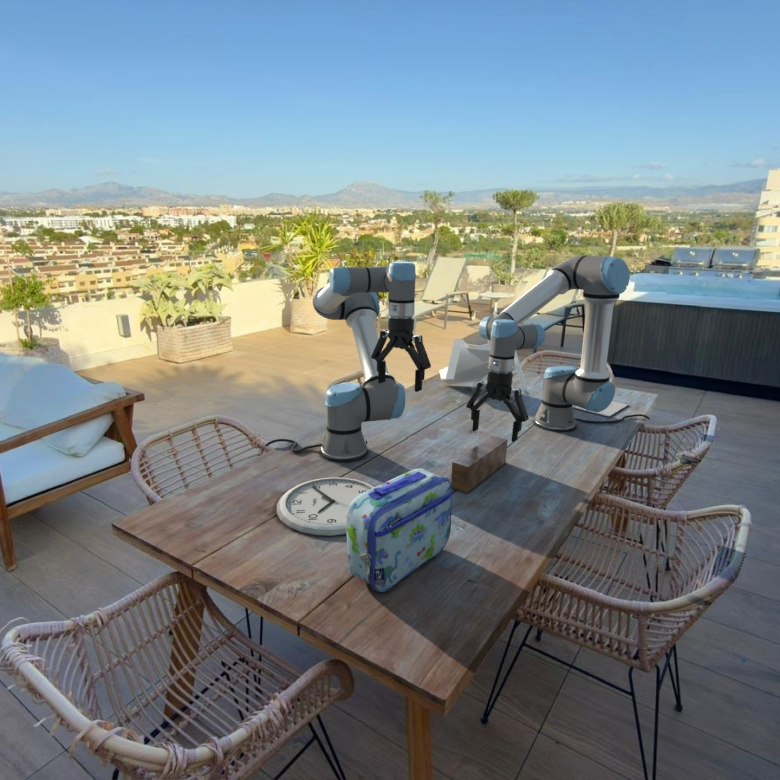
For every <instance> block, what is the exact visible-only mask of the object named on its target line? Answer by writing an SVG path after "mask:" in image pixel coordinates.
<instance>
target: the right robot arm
mask: <svg viewBox="0 0 780 780" xmlns="http://www.w3.org/2000/svg"><path fill="white" fill-rule="evenodd" d="M630 275H631V274H630V269H629V266H628V264H627V263H626V261H625V260H624V259H622V258H621V257H616V256H608V255H605V256H604V255H587V254H586V255H585V254H580V255H576V256H572V257H570V258H568V259H566V260H564V261H561V262H560V263H558V264H557V265H555V266H554V267H553V268H551V269H550V270H549V271H547V273H546V274H545V277H544V278H543V279H542V280H540V281H539V282H538V283H537V284H535V285H534V286H533V287H531V288H530V289H529V290H528V291H526V292H525V293H524V294H523V295H521V296H519V298H517V299H516V300H515V301H513V302H512V303H511V304H510V305H508V306H507V307H506V308H504V309H503V310H502V311H501V312H499V313H497V314H498V315H497V316H496V317H494V316H485V317H483V318H482V319H481V320H480V322H479V325H478V333H479V336H480V337H481V338H483V339H484V340H487V341H490V342H489V343H490V344H489V345H490V356H489V366H488V368H489V369H490V370H489V371H488V374H487V375H486V376H487V377H486V383H485V381H484V380H482V381H480V382H477V383H476V389H475V390H474V392H473V394H472V395H471V397H470V399H469V400H468V402H467V404H466V406H465V407H466V409H470V411H471V415H470V420H471V421H472V430H471V431H472V432H476V431H478V430H479V425H480V416H481V415H480V414H481V413H480V412H481V410H480V409H479V408H480V407H482V405H484V404H485V403H486V402H487V401H488V400H489V399H491V400H495V401H496V400H497V401H498V402H503V404H504V405H506V407H507V409H508V410H509V412H510V413H511V415H512V416H513V418H514V421H513V423H512V430H511V431H512V433H511V440H510V441H511V442H512V443H515V442H516V441H518V437H519V433H520V432H521V431H522V426H523V423H525V422H527V421H528V420H529V419H530V417H529V414H528V411H527V409H526V406H525V403H524V400H523V396H522V388H517V389H516V388H515V389H512V387H511V385H512V381H513V375H514V373H513V371H514V366H515V363H514V357H515V350H516V351H521V350H528V349H529V350H531V349H534V348H539V347H540V346H542V345H543V344H544V343H545V341H546V331H545V329H544V327H543V326H542V325H540V324H538V323H525V322H526V321H528V320H530V318H532V317H533V316H534V315H535V314H537V313H538V312H539V311H540V310H541V309H543V308H544V307H545V306H546V305H548V304H549V303H550V302H551V301H552V300H554V299H556V297H558V296H559V295H565V294H566V293H567V292H568V291H571V290H580V291H581V290H582V298H583V299H584V300H585V301H586V308H585V317H584V328H583V337H582V338H583V339H582V346H581V355H580V356H581V358H580V367H579V368H577V367H575V366H571V365H570V366H569V365H557V366H556V365H555V366H550V367H547V368H546V369H545V371H544V375H543V378H542V379H543V381H542V392H541V402H540V405H539V407H538V410H537V411H536V413H535V417H534V424H535V425H536V426H537V427H539V428H542V429H544V430H549V431H556V432H567V431H572V430H574V429H575V428H576V421H577V422H582V423H588V424H589V423H590V424H614V423H620V422H622V421H624V420H625V419H627V418H635V417H643V418H645V419H647V420H651V418H650V417H649V416H648V415H646V414H642V413H638V414H627V415H624V416H622V418H619V419H614V420H586V419H581V418H577V417H576V416H575V413H574V407H576V406H578V407H581V408H584V409H586V410H588V411H594V412H601V411H603V410H605V409H606V408H607V407H608V406H609V405H610V403H611V402H612V401H614V397H615V394H616V386H615V384H614V383H613V382H611V381H610V378H611V375H610V373H609V371H607V365H608V364H607V363H608V355H609V347H610V338H611V330H612V329H611V328H612V321H613V313H614V304H615V302H616V301H618V300H619V299H620V296H621V294H623V293H624V292H625V291H626V290H627V287H628V286H629V284H630ZM483 390H486V392H487V393H486V394H484V395H483V396H482V398H480V399H479V397H480V395H481V393H482V392H483ZM511 393H512V394H513V395H512V394H511ZM511 395H512V396H511ZM512 397H513V398H514V401H515V403H514V401H513V399H512ZM478 399H479V400H478ZM477 400H478V401H477ZM573 406H574V407H573ZM588 411H587V412H588Z"/></svg>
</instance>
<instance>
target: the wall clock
mask: <svg viewBox="0 0 780 780" xmlns="http://www.w3.org/2000/svg"><path fill="white" fill-rule="evenodd" d="M375 487H376V486H374V485H372V484H371V483H369V482H365V481H362V480H359V479H355V478H349V477H338V476H337V477H335V476H333V477H332V476H331V477H322V478H317V479H312V480H307V481H305V482H302V483H299V484H297V485H295V486H293V487H292V488H290V489H288V490H287V491H286V492H285V493H284V494H283V495H281V496H280V498H279V499H278V502H277V503H276V515H277V517H278V518H279V520H280V521H281V522H282V523H283V524H285V525H286V526H287V527H288V528H290V529H293V530H295V531H297V532H299V533H303V534H308V535H312V536H327V537H328V536H329V537H331V536H332V537H333V536H342V535H346V515H347V510H348V507H349V505H350V504H351V502H352V501H353V500H354V498H356V497H357V496H358V495H360V494H362V493H364V492H366V491H368V490H370V489H373V488H375Z"/></svg>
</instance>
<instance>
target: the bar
mask: <svg viewBox="0 0 780 780" xmlns="http://www.w3.org/2000/svg"><path fill="white" fill-rule="evenodd" d="M507 446H508V439H507V438H503V437H500V436H496V435H491V436H489V437H488V438H487V439H485V440H483V441H482V442H480V443H479V444H478V445H476V446H474V447H473V448H471V449H469V450H468V451H467V452H465V453H464V454H462V455H460V456H459V457H458V458H456V459H455V460H453V461H451V476H450V477H451V478H450V482H451V489H454V490H457V491H460V492H463V493H467V494H468V493H469V492H470V491H471V490H472V489H474V488H475V487H477V486H478V485H479V484H480V483H481V482H483V481H484V480H486V479H487V478H488V477H489V476H490V475H492V474H493V473H494V472H495V471H497V470H498V469H499V468H501V467H502V466H503V465H504V464H506V460H507Z"/></svg>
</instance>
